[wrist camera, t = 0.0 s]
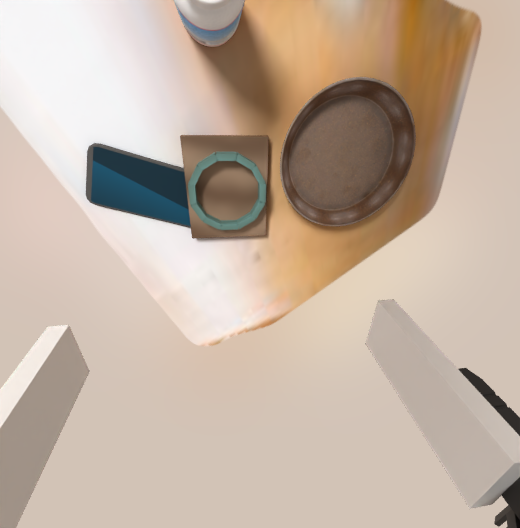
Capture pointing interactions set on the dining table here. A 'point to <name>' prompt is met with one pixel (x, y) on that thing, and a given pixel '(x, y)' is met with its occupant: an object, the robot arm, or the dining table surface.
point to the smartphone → (136, 185)
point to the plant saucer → (347, 151)
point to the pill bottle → (210, 19)
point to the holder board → (226, 184)
